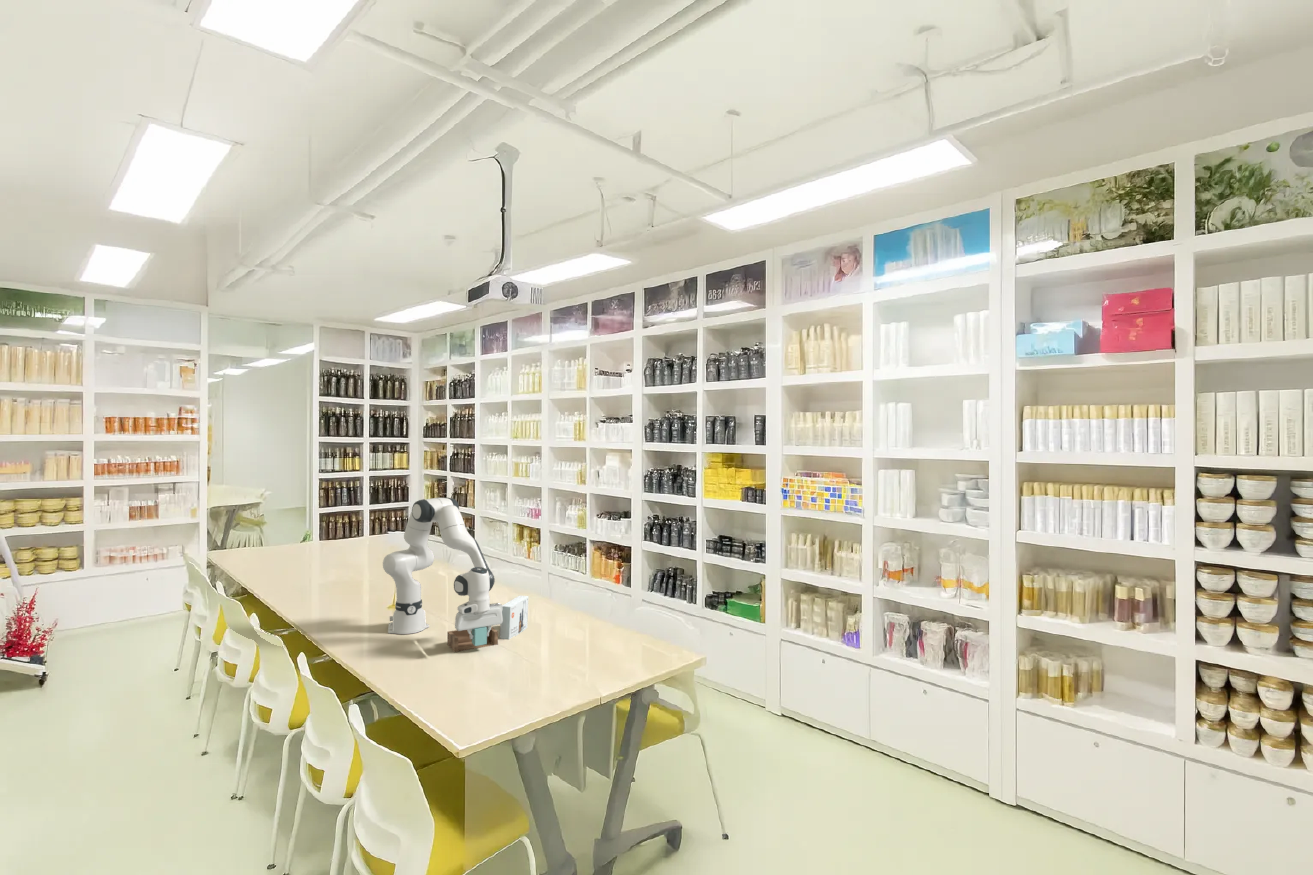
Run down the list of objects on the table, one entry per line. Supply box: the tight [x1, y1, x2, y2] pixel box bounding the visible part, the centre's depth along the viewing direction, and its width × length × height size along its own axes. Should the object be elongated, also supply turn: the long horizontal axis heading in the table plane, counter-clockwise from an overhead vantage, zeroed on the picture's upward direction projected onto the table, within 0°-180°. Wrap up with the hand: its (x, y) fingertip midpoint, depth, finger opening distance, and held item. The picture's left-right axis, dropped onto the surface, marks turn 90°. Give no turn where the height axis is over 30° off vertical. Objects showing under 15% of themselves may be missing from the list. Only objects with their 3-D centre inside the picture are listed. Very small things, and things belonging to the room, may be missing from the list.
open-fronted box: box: [446, 626, 499, 653], centre depth 281 cm, size 12×19×6 cm, turn 123°
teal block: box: [472, 627, 487, 646], centre depth 273 cm, size 5×5×7 cm
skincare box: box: [499, 595, 529, 640], centre depth 299 cm, size 21×6×16 cm, turn 168°
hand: (479, 637), depth 273 cm, fingers closed on teal block, 5 cm apart
